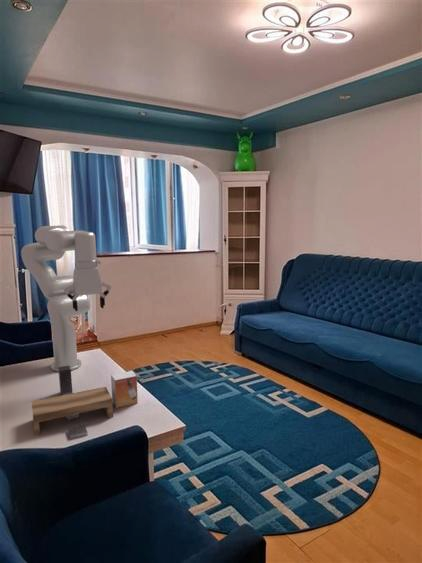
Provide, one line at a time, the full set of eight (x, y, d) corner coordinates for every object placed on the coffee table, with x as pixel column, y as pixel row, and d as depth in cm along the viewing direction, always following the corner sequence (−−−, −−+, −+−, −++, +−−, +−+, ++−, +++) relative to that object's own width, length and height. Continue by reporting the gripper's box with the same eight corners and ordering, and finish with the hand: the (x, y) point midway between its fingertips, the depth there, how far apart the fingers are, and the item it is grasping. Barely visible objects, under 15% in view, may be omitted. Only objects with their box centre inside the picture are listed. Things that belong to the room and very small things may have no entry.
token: (68, 432, 123) (67, 427, 123) (84, 428, 125) (84, 423, 125) (70, 440, 119) (70, 436, 119) (87, 436, 121) (87, 431, 121)
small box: (115, 408, 137) (114, 380, 135) (111, 401, 142) (110, 374, 140) (138, 403, 140) (137, 375, 138) (133, 396, 145) (132, 370, 143)
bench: (33, 419, 130) (31, 401, 129) (106, 403, 140) (105, 386, 139) (34, 435, 121) (32, 415, 120) (113, 416, 131) (112, 398, 130)
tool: (60, 392, 149) (58, 367, 147) (71, 390, 151) (69, 365, 149) (67, 419, 130) (64, 391, 128) (79, 416, 131) (77, 389, 130)
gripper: (107, 262, 156) (109, 304, 159) (61, 265, 148) (64, 309, 151) (111, 264, 149) (113, 308, 152) (63, 267, 142) (66, 313, 145)
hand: (89, 308), depth 152 cm, fingers open, 9 cm apart
